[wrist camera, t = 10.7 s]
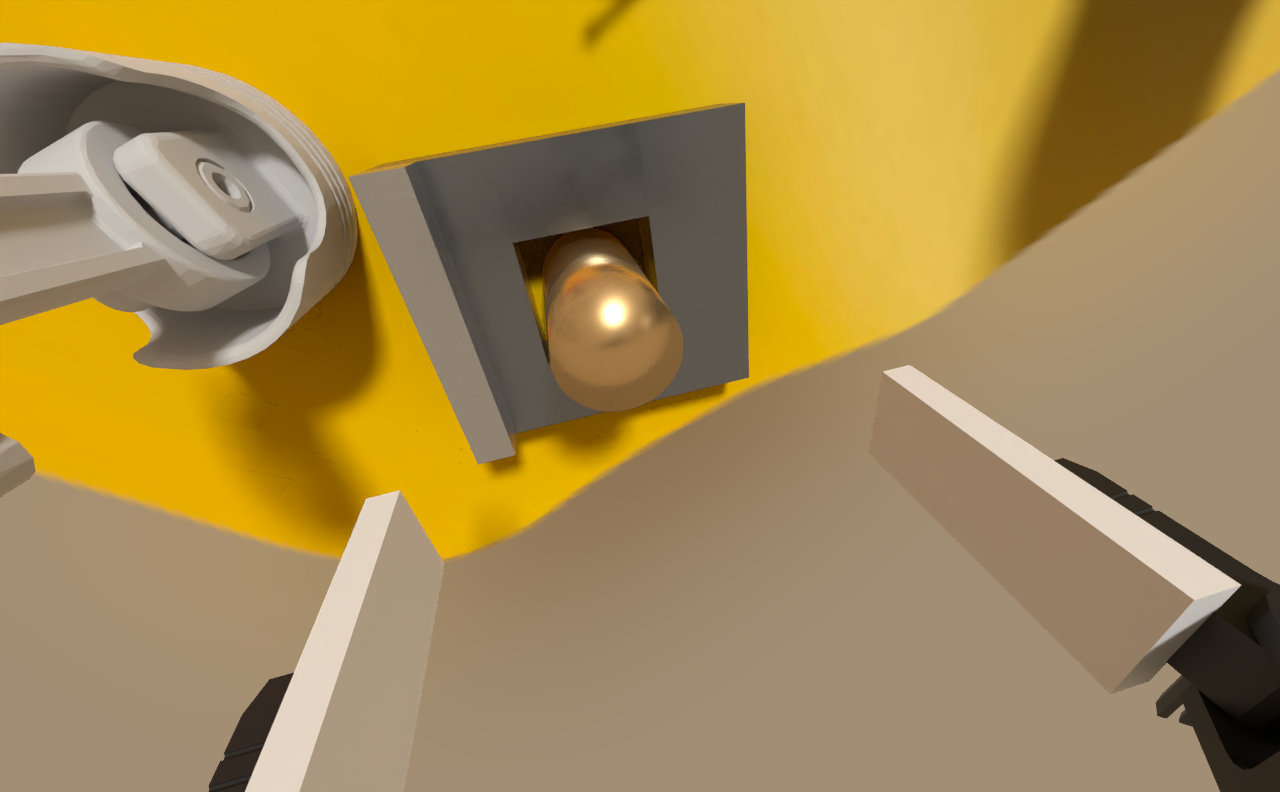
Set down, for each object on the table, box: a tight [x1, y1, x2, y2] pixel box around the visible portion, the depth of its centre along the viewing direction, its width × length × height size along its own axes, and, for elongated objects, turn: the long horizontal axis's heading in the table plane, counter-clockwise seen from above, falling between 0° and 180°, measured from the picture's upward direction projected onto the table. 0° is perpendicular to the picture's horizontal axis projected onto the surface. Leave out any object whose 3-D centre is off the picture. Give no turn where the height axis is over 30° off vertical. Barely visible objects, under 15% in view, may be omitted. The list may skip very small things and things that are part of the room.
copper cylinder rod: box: [543, 228, 683, 412], centre depth 21 cm, size 5×5×10 cm
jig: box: [349, 103, 749, 464], centre depth 23 cm, size 16×14×5 cm
